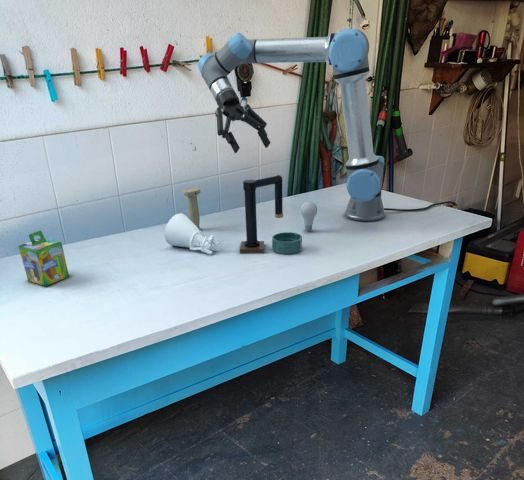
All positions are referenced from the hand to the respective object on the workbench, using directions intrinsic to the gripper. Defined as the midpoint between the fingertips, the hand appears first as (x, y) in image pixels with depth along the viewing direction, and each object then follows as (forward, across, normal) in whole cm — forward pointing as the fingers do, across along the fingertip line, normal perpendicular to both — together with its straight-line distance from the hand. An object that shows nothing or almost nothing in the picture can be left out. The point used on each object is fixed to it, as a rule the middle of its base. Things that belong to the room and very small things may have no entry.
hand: (253, 148), depth 180 cm
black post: (+31, +12, -11) cm, 35 cm away
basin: (+37, +4, -5) cm, 37 cm away
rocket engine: (+21, +28, -21) cm, 41 cm away
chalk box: (+16, +75, -28) cm, 81 cm away
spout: (+24, +6, -5) cm, 26 cm away
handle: (+9, +15, -34) cm, 38 cm away
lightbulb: (+30, -15, -12) cm, 36 cm away
